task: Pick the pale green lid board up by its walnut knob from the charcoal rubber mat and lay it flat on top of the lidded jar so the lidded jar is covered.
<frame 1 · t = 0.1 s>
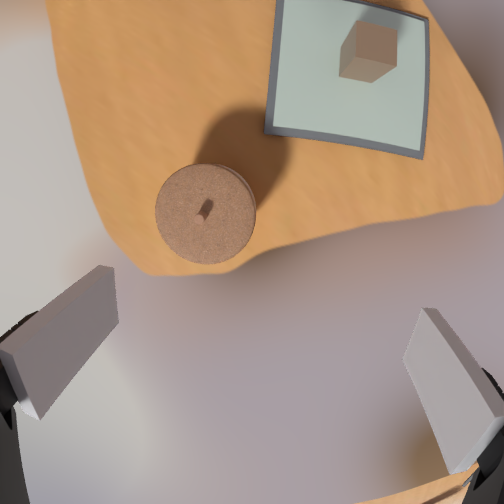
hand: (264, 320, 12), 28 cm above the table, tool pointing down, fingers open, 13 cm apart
lidded jar: (218, 202, 40), on the table
lid: (354, 66, 31), point 1 cm above the table, touching mat
mat: (353, 68, 32), on the table
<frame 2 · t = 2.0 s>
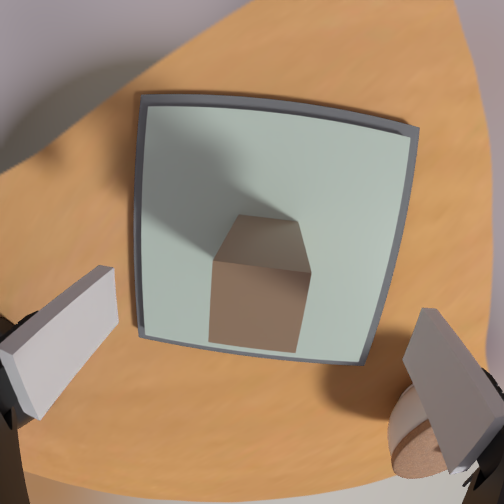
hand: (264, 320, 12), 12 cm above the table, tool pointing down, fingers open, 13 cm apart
lidded jar: (422, 395, 28), on the table
lid: (265, 242, 23), point 1 cm above the table, touching mat
mat: (265, 238, 24), on the table
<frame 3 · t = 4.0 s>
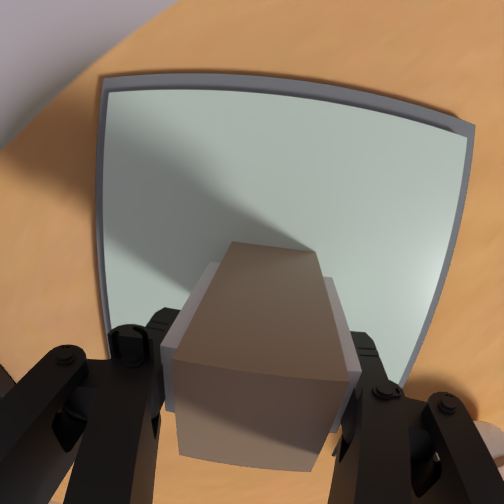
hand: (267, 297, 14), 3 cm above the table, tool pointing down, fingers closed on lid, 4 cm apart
lidded jar: (446, 438, 22), on the table
lid: (269, 278, 16), point 1 cm above the table, touching gripper, mat
mat: (270, 271, 17), on the table
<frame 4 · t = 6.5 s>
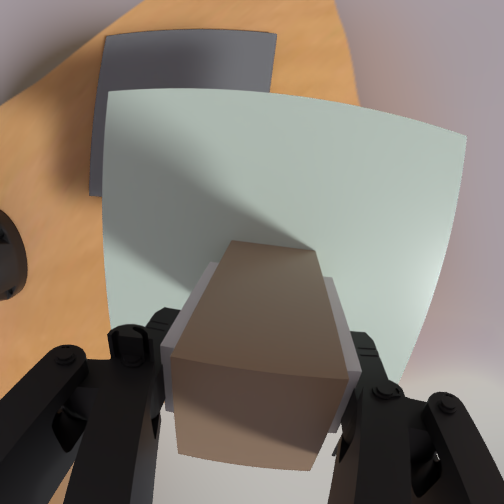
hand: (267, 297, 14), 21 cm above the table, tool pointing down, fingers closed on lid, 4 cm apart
lid: (269, 277, 16), point 19 cm above the table, touching gripper
mat: (174, 114, 32), on the table
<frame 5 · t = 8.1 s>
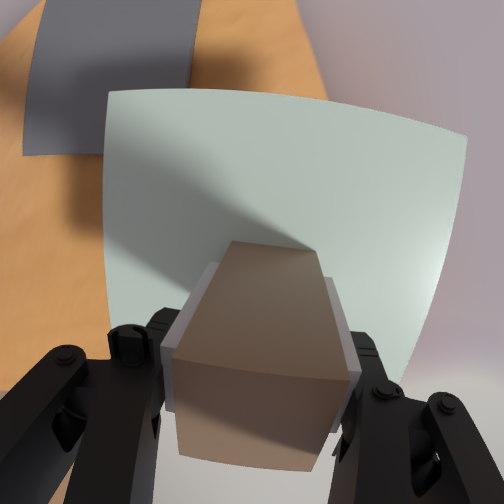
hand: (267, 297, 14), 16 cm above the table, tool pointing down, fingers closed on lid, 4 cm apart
lid: (269, 278, 16), point 13 cm above the table, touching gripper
mat: (101, 60, 25), on the table
when the fingers open (13 cm above the table, at t = 9.2 s): lid drops 1 cm, resting on lidded jar.
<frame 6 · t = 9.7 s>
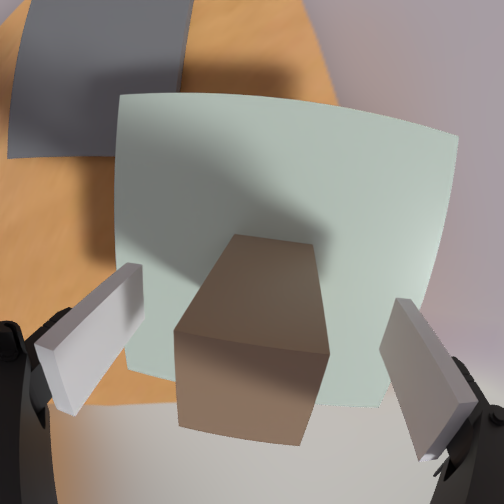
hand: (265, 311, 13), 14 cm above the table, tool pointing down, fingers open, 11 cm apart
lid: (269, 269, 18), point 9 cm above the table, touching lidded jar
mat: (88, 55, 22), on the table
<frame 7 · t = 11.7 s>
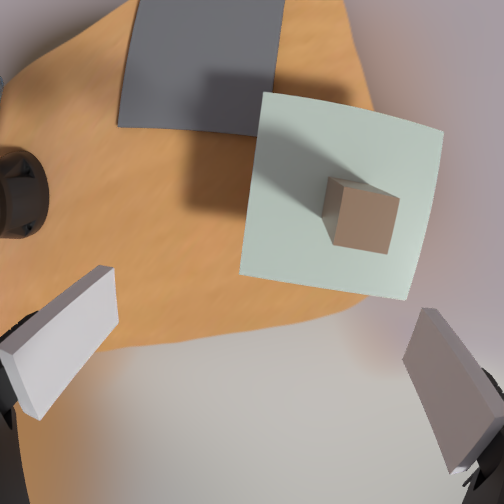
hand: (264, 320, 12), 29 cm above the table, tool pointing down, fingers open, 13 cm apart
lid: (344, 199, 29), point 9 cm above the table, touching lidded jar
mat: (198, 57, 35), on the table
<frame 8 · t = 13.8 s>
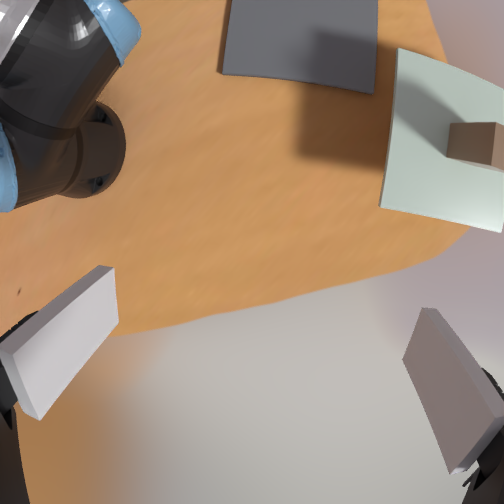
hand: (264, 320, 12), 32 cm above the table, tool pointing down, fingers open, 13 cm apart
lid: (458, 144, 29), point 9 cm above the table, touching lidded jar
mat: (304, 18, 34), on the table
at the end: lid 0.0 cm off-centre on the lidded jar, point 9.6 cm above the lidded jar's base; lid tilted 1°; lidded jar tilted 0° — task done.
